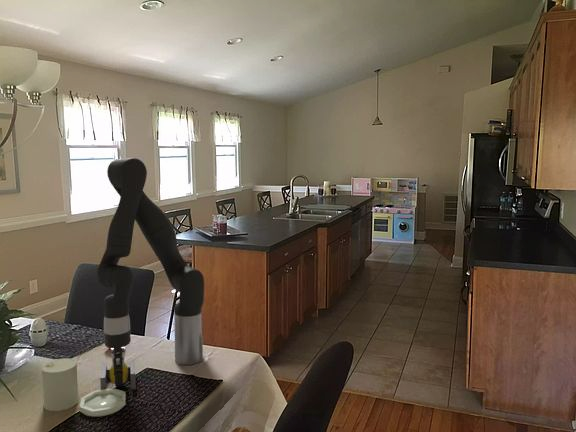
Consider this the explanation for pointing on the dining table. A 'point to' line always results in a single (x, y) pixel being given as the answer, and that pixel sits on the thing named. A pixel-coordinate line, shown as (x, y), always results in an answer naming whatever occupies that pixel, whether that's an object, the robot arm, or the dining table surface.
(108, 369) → the clip
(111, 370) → the lemon
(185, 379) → the dining table surface
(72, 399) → the can
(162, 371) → the dining table surface
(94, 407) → the dish
